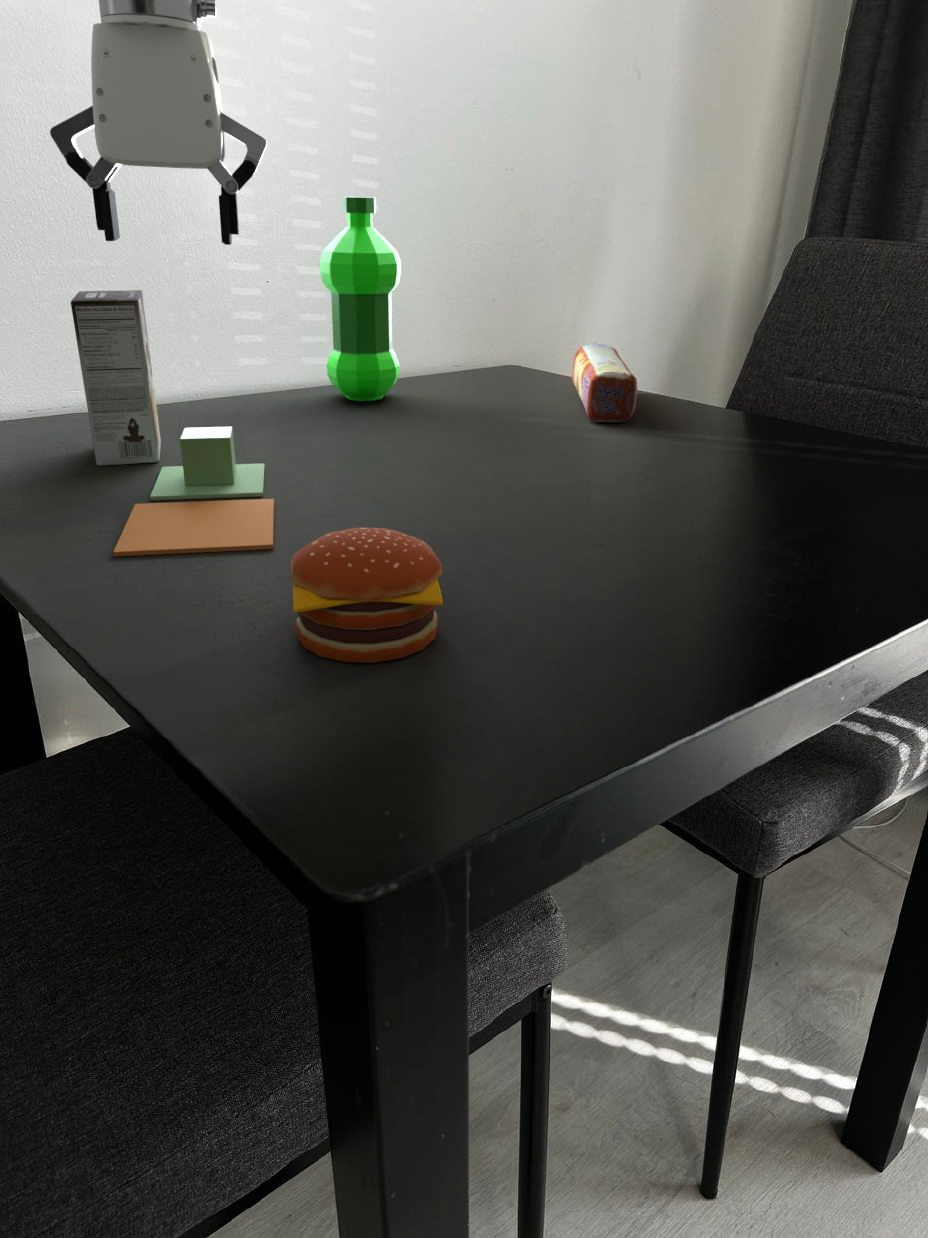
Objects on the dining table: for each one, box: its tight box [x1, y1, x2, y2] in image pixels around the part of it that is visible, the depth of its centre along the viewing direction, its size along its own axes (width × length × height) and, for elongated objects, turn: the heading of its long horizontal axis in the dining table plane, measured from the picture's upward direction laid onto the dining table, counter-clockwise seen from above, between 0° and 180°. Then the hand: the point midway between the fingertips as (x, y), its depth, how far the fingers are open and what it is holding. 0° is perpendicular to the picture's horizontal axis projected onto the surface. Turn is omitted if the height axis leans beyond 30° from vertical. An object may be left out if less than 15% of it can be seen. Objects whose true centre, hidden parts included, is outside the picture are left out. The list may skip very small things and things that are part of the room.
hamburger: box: [290, 526, 444, 664], centre depth 57 cm, size 9×10×7 cm
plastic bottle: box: [319, 196, 402, 402], centre depth 120 cm, size 10×10×25 cm
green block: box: [179, 426, 237, 486], centre depth 87 cm, size 4×4×4 cm
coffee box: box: [70, 289, 162, 467], centre depth 93 cm, size 9×6×16 cm
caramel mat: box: [112, 498, 275, 557], centre depth 76 cm, size 12×12×1 cm
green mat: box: [149, 463, 265, 501], centre depth 88 cm, size 10×10×1 cm
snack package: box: [571, 343, 638, 423], centre depth 121 cm, size 21×7×7 cm, turn 178°
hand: (170, 241), depth 80 cm, fingers open, 9 cm apart
